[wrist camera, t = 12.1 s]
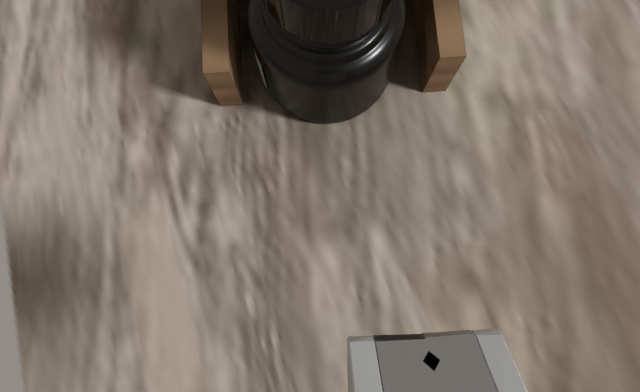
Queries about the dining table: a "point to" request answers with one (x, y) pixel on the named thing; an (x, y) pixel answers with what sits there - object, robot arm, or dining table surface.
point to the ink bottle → (326, 53)
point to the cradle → (431, 29)
